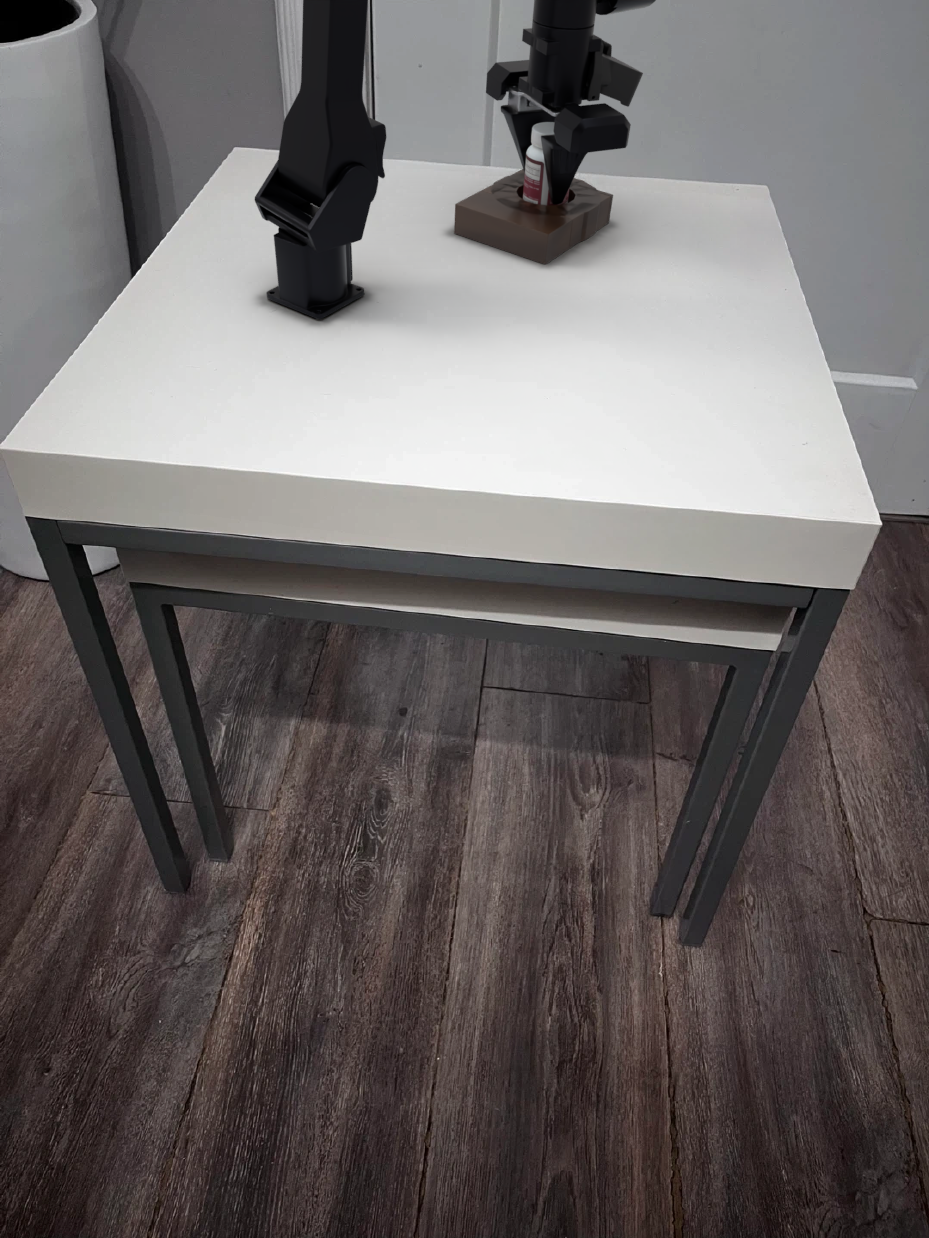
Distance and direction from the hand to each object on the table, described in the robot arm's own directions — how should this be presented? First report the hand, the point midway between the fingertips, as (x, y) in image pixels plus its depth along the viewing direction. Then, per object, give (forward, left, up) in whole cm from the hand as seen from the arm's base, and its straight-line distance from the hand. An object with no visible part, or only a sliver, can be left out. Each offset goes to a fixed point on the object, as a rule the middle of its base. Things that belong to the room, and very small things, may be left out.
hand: (545, 194), depth 100 cm
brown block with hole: (-2, 0, -3) cm, 3 cm away
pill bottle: (0, 0, -2) cm, 2 cm away
